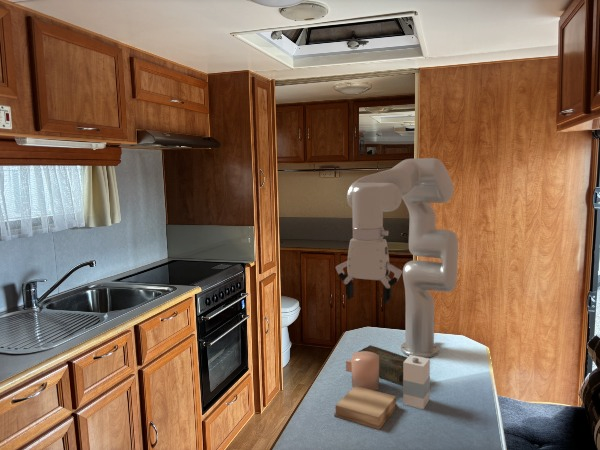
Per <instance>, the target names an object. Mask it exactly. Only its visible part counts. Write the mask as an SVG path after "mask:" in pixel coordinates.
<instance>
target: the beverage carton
mask: <svg viewBox="0 0 600 450" xmlns="http://www.w3.org/2000/svg"><path fill="white" fill-rule="evenodd" d="M360 351H368V352H373V353H376V354H377V355H378V356H379V379H382V380H384V381H387V382H390V383H393V384H395V385H398V386H401V387H403V362H404V361H405V360H406V359H407V358H408V357H409V356H404V355H401V354H398V353H396V352H392V351H390V350H386V349H384V348H382V347H378V346H375V345H371V344H369V345H368V346H366V347H363V348H362V349H360V350H358V351H357V352H360Z"/></svg>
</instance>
